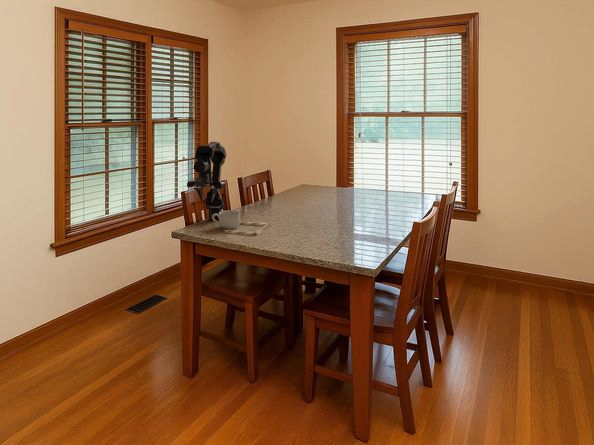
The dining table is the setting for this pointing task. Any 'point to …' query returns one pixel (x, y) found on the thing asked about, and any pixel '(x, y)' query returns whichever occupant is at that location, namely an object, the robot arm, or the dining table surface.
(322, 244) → the dining table surface
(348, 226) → the dining table surface
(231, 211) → the teacup
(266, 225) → the frame
